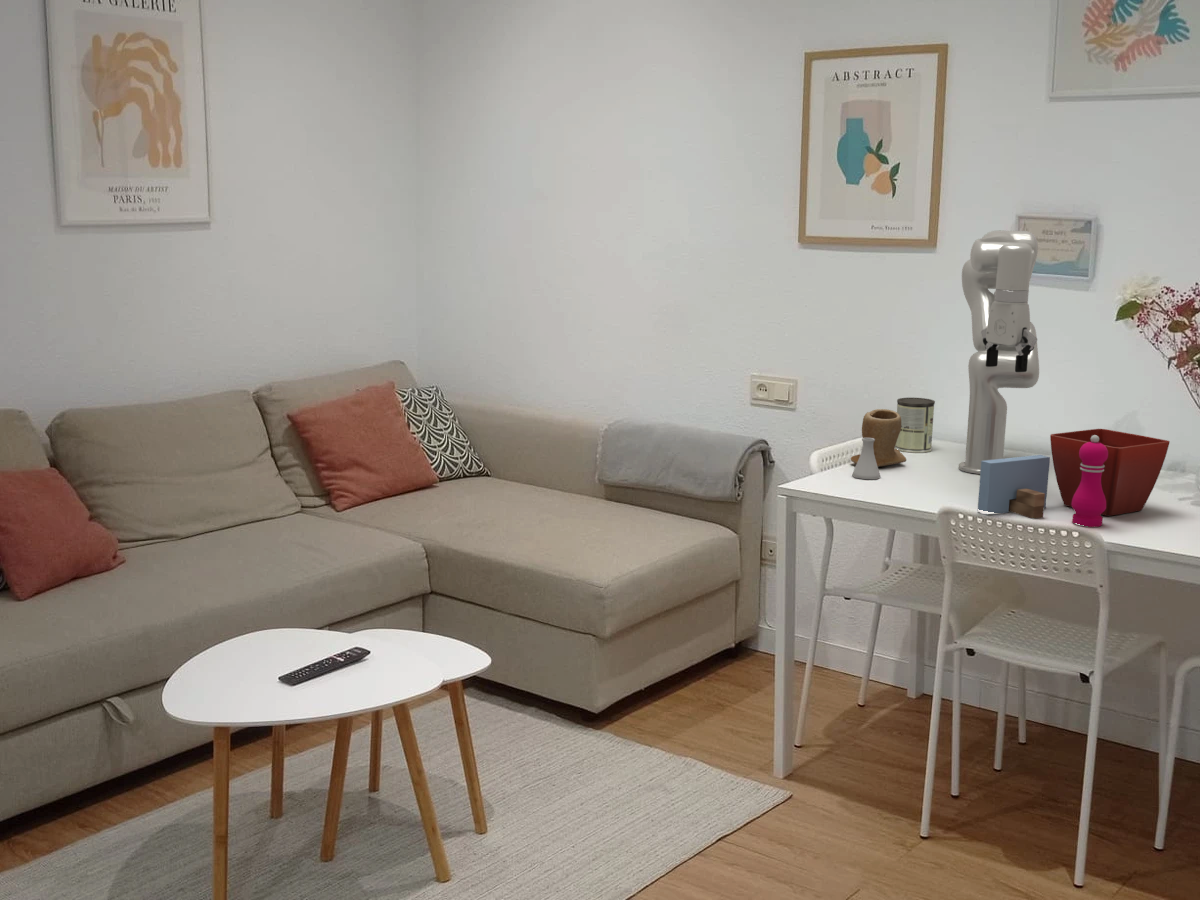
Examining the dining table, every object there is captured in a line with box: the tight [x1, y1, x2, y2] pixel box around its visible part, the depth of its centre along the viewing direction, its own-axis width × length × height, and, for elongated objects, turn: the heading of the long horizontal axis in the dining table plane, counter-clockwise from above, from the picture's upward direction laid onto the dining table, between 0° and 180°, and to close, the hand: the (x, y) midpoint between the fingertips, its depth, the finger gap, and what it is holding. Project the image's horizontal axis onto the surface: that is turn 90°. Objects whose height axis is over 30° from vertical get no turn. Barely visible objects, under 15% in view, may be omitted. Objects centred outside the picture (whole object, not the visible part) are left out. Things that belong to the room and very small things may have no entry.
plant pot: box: [1049, 428, 1170, 517], centre depth 303 cm, size 19×19×17 cm
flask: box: [851, 437, 882, 480], centre depth 333 cm, size 7×7×10 cm
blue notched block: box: [977, 454, 1051, 514], centre depth 301 cm, size 18×3×12 cm, turn 117°
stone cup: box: [850, 408, 907, 468], centre depth 347 cm, size 15×12×15 cm
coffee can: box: [895, 397, 936, 454], centre depth 369 cm, size 10×10×14 cm
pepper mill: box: [1071, 435, 1108, 528], centre depth 288 cm, size 7×7×20 cm
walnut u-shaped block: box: [1008, 489, 1045, 519], centre depth 301 cm, size 16×3×6 cm, turn 27°
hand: (1005, 369), depth 314 cm, fingers open, 9 cm apart
